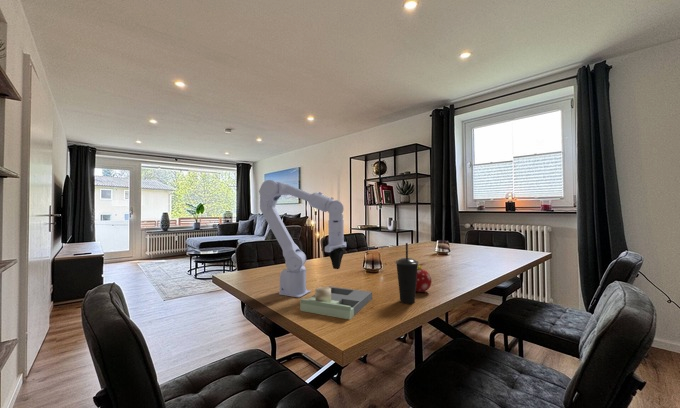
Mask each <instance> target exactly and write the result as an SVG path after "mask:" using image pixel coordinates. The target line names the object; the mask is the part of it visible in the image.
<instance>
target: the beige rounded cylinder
mask: <svg viewBox="0 0 680 408" xmlns="http://www.w3.org/2000/svg"><path fill="white" fill-rule="evenodd" d="M314 290H315V293H314V295H315V299H316V301H322V302H329V303H331V288H329V286H319V287H316V288H315V289H314Z"/></svg>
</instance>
